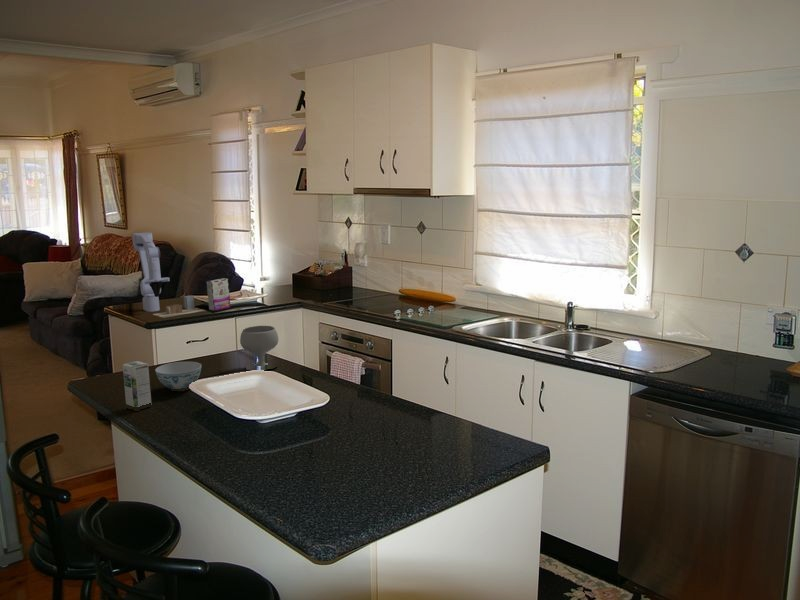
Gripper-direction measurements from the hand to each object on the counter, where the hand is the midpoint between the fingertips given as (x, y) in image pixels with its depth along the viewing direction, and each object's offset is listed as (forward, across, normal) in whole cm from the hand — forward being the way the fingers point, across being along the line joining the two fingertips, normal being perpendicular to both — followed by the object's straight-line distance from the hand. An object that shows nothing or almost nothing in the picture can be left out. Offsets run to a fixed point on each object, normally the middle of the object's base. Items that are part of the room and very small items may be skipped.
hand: (156, 296), depth 365 cm
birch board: (+10, +10, -3) cm, 15 cm away
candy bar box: (+11, +30, -9) cm, 33 cm away
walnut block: (+8, +4, -2) cm, 9 cm away
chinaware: (+14, -50, -130) cm, 140 cm away
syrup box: (+14, -68, -139) cm, 156 cm away
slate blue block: (+10, +18, +2) cm, 21 cm away
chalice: (+13, -17, -128) cm, 130 cm away
